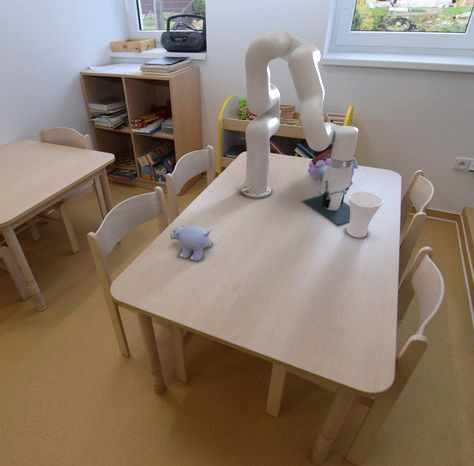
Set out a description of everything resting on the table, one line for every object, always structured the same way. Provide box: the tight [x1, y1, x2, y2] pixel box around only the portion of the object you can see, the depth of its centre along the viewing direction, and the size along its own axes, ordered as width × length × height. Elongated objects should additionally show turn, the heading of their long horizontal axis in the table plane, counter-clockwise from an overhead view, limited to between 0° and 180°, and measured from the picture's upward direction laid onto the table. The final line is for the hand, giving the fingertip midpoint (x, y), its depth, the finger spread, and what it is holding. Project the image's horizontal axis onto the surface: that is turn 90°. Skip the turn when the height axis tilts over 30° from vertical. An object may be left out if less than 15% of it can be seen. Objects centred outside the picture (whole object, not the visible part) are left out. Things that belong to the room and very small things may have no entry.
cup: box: [346, 191, 384, 238], centre depth 112 cm, size 10×10×14 cm
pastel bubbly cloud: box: [307, 147, 359, 182], centre depth 146 cm, size 20×22×18 cm
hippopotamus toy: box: [169, 224, 213, 262], centre depth 110 cm, size 11×15×10 cm
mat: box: [303, 195, 350, 226], centre depth 129 cm, size 13×20×1 cm, turn 24°
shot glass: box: [326, 190, 344, 210], centre depth 128 cm, size 7×7×7 cm
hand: (332, 204), depth 129 cm, fingers closed on shot glass, 6 cm apart
